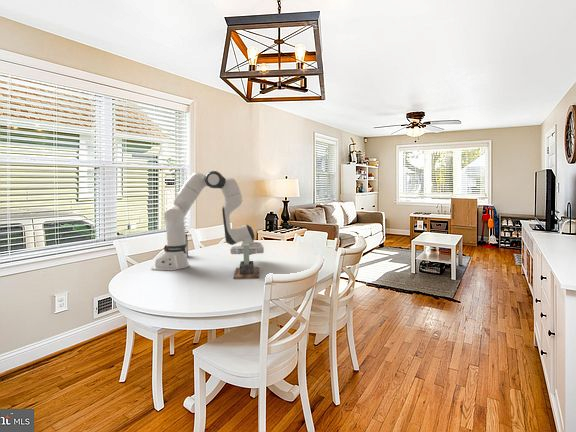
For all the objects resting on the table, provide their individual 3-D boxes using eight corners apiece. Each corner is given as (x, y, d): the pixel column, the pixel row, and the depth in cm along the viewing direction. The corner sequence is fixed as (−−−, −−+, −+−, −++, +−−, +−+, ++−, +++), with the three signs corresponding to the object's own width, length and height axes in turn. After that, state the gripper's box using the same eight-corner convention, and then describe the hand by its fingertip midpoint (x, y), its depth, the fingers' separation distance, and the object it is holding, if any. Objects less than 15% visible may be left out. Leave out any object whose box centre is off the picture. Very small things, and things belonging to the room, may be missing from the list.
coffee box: (188, 255, 243) (187, 234, 241) (182, 257, 237) (181, 235, 235) (179, 254, 246) (178, 233, 245) (172, 256, 241) (171, 234, 239)
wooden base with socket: (233, 279, 184) (233, 268, 183) (236, 269, 203) (235, 259, 203) (258, 278, 185) (258, 267, 184) (259, 268, 204) (258, 258, 204)
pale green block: (244, 273, 191) (243, 245, 189) (244, 270, 197) (243, 243, 195) (249, 272, 191) (248, 245, 189) (249, 270, 197) (248, 243, 195)
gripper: (231, 243, 210) (228, 247, 196) (263, 242, 211) (263, 246, 198) (231, 253, 210) (229, 258, 197) (263, 252, 212) (263, 257, 198)
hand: (246, 252), depth 197 cm, fingers open, 8 cm apart
